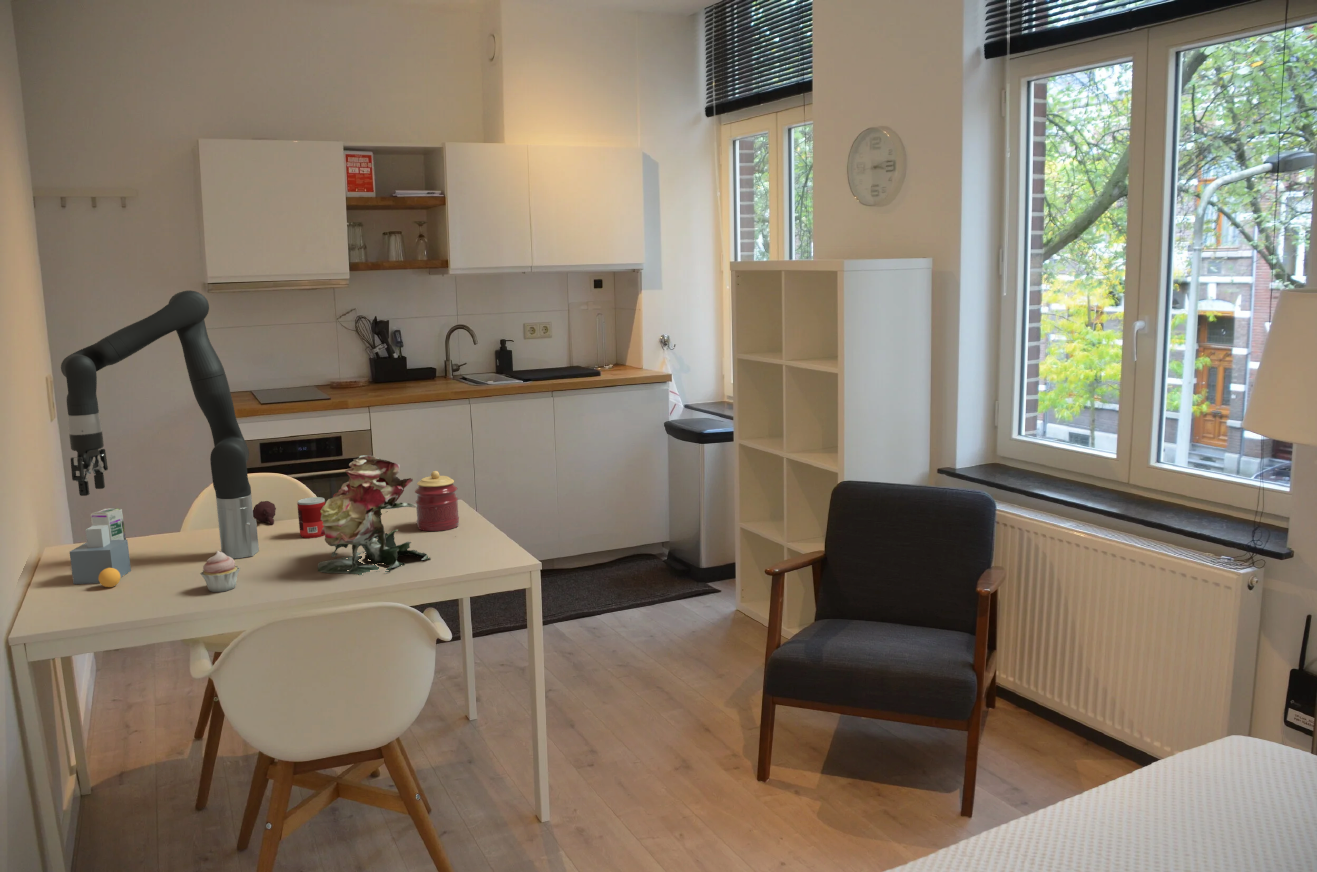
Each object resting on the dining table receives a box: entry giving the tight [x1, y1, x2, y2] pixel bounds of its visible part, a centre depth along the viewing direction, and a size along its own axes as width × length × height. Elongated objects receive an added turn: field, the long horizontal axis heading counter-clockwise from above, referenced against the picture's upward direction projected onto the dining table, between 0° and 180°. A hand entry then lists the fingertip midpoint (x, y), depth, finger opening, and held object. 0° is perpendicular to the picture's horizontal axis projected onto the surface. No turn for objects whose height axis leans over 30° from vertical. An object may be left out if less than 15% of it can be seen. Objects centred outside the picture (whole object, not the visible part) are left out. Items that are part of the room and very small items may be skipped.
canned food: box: [296, 496, 326, 539], centre depth 307 cm, size 8×8×11 cm
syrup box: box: [90, 507, 127, 540], centre depth 284 cm, size 6×6×14 cm
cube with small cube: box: [69, 525, 132, 585], centre depth 268 cm, size 10×10×14 cm
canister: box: [414, 470, 460, 532], centre depth 313 cm, size 13×13×18 cm
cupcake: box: [199, 550, 241, 593], centre depth 256 cm, size 9×9×10 cm
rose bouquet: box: [317, 454, 431, 576], centre depth 273 cm, size 26×29×30 cm
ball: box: [99, 568, 122, 588], centre depth 260 cm, size 5×5×5 cm
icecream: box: [253, 500, 277, 526], centre depth 326 cm, size 7×7×15 cm
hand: (92, 491), depth 265 cm, fingers open, 8 cm apart
